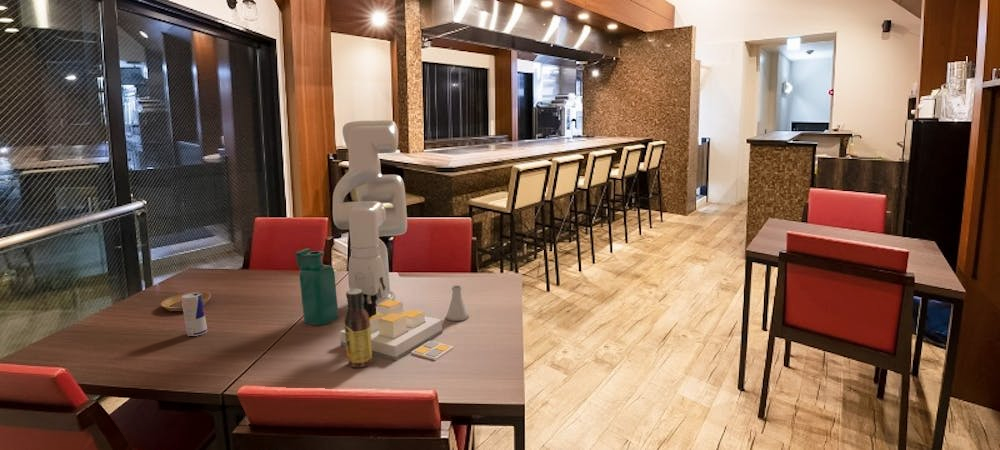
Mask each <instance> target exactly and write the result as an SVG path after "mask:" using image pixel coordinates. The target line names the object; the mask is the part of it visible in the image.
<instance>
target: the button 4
mask: <svg viewBox="0 0 1000 450" xmlns="http://www.w3.org/2000/svg"><path fill="white" fill-rule="evenodd" d="M400 315H403V316H405V317H406V327H407V328H411V329H414V328H416V327H418V326H420V325H422V324H423V323H425V316H426V315H425V312H423V311H421V310H416V309H412V308H410V309H408V310H406V311H404V313H402V314H400Z"/></svg>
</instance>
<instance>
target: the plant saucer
mask: <svg viewBox="0 0 1000 450" xmlns="http://www.w3.org/2000/svg"><path fill="white" fill-rule="evenodd" d="M197 292H198V293H201V295H202V298H203V305H204V306H206V304H207V303H208V302H209V300H210V298H211V297H212V295H211V293H210V292H203V291H197ZM188 293H189V292H186V293H181V294H177V295H174V296H170V297H167V298H166V299H164V300H163V301H162V302H161V303H160V306H161V307H163V308H164V309H165V310H167V311H169V312H172V311H183V307H169V306H170V305H172V304H174V303H177V302H180V301H182V300H181V299H182V296H183V295H185V294H188ZM192 293H194V292H193V291H192Z"/></svg>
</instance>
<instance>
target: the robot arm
mask: <svg viewBox="0 0 1000 450" xmlns="http://www.w3.org/2000/svg"><path fill="white" fill-rule="evenodd" d="M342 136H343V140H344V142H345V143H344V144H345V146H346V148H347V150H348V171H347V172H346V173H345V174H344V175H343V176H342V177H340V179H339V181H338V182H337V183H336V186H335V187H334V190H333V194H332V220H333V224H334V225H335V226H336V228H337V229H340V230H349V239H350V240H349V242H350V245H349V246H350V247H349V250H350V252H351V253H350V254H351V255H350V256H349V258H348V259H349V260H348V273H347V275H348V279H347V280H348V289H349V290H351V289H361V290H363V305H364V306H363V308H364V309H365V310H366V311H367V313H368V315H369V317H371V316H373V315H376V312H377V305H378V304H380V303H382V302H384V301H386V300H388V299H391V300H395V298H396V293H395V292H393V291H391V287H390V286H391V285H390V269H389V257H388V256H389V253H388V248H387V245H386V244H385V242H384V241H382V239H381V238H380V237H392V236H401V235H404V234H405V233H406V232H407V230H408V213H407V201H406V200H407V199H406V187H405V183H404V180H403V178H402V177H401V175H398V174H382V170H381V169H382V168H381V160H380V157H379V155H378V154H394V153H396V152H397V151H398V147H399V130H398V126H397V123H396V122H395V121H393V120H388V119H385V120H384V119H382V120H355V121H354V120H353V121H350V122H346V123H345V124H344V125H342ZM353 190H355V194H356V199H357V201H346V202H344V200H345V197H346V196H347V195H348V194H349V193H350V192H351V191H353ZM383 204H390V205H392V206H388V207H385V206H384V205H383Z"/></svg>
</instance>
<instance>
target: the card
mask: <svg viewBox="0 0 1000 450" xmlns="http://www.w3.org/2000/svg"><path fill="white" fill-rule="evenodd" d="M453 349H454V346H453V345H449V344H444V343H441V342H437V341H433V340H430V341H428V342H426V343H424V344H423V345H421V346H419V347H418V348H416V349H414V350H413V351H411V352H410V353H411V355H414V356H418V357H422V358H425V359H428V360H432V361H437V360H439V359H440V358H441V357H443V356H444V355H446V354H447V353H449V352H450V351H452V350H453Z"/></svg>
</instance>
